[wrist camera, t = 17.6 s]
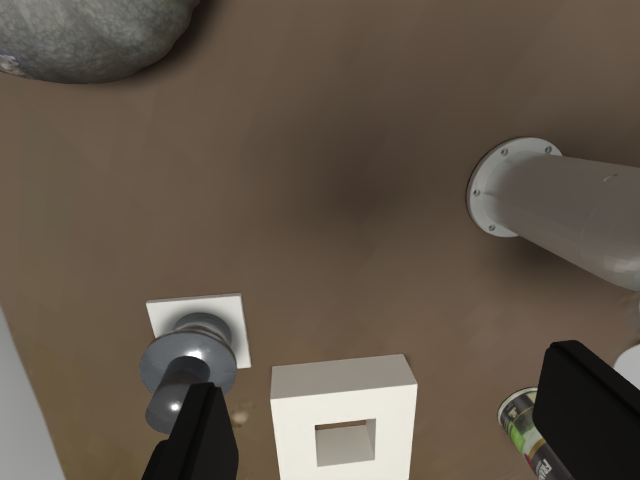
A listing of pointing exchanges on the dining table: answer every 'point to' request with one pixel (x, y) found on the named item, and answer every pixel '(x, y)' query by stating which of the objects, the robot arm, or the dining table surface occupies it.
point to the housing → (344, 418)
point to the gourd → (88, 37)
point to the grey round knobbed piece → (186, 365)
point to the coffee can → (530, 436)
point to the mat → (220, 305)
